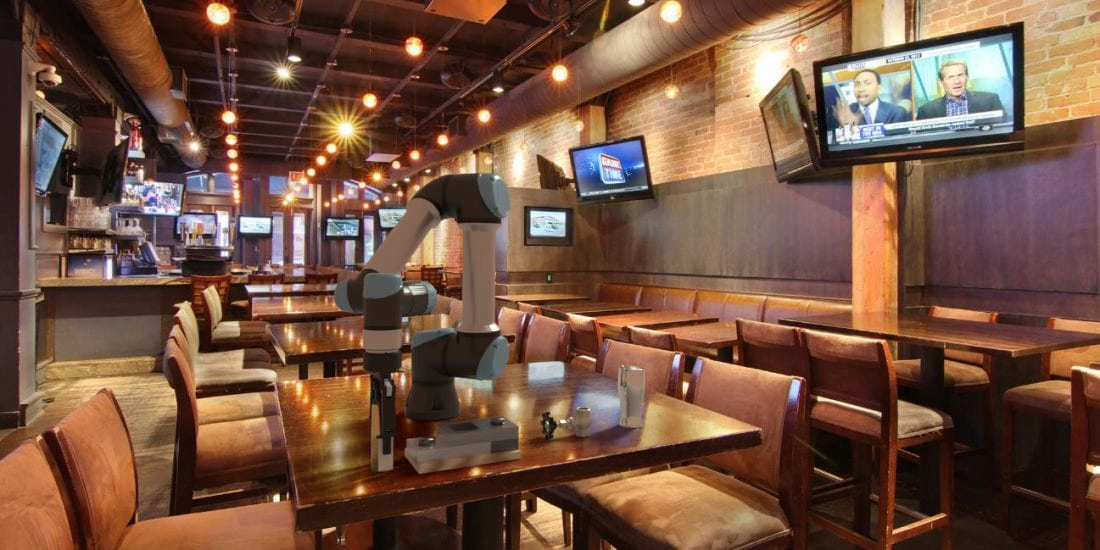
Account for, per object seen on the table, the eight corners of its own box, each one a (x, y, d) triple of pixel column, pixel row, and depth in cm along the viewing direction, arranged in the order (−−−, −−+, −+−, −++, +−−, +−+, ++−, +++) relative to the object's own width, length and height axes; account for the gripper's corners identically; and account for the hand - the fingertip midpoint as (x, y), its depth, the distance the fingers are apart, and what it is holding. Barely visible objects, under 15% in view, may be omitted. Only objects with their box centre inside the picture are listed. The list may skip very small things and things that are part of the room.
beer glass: (643, 429, 150) (644, 370, 150) (615, 427, 151) (616, 369, 151) (644, 422, 157) (645, 365, 156) (618, 420, 158) (619, 364, 158)
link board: (419, 473, 117) (419, 466, 117) (404, 455, 128) (404, 448, 128) (521, 458, 127) (521, 451, 127) (499, 442, 138) (499, 436, 138)
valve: (584, 430, 149) (540, 435, 144) (584, 404, 149) (540, 408, 144) (596, 438, 143) (550, 443, 138) (597, 410, 143) (551, 415, 138)
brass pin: (367, 470, 119) (367, 405, 118) (380, 464, 122) (380, 401, 122) (383, 473, 117) (383, 407, 117) (396, 466, 121) (396, 403, 120)
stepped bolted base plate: (417, 463, 118) (417, 434, 118) (406, 450, 126) (406, 422, 126) (518, 449, 128) (518, 421, 128) (502, 437, 136) (502, 411, 136)
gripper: (413, 356, 112) (412, 477, 113) (390, 342, 130) (390, 447, 130) (372, 358, 109) (371, 483, 109) (355, 344, 126) (354, 451, 127)
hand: (381, 463), depth 120 cm, fingers open, 7 cm apart
